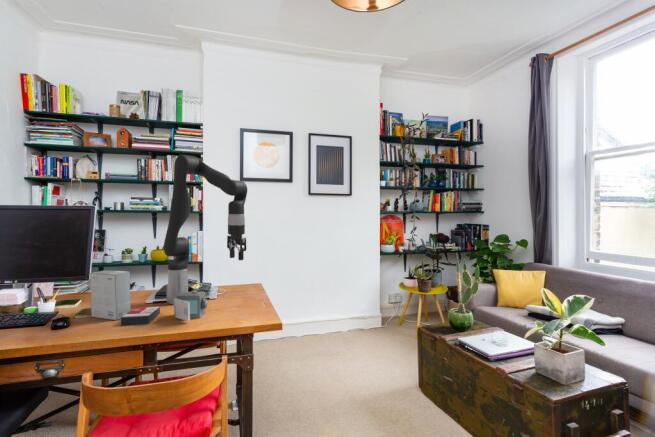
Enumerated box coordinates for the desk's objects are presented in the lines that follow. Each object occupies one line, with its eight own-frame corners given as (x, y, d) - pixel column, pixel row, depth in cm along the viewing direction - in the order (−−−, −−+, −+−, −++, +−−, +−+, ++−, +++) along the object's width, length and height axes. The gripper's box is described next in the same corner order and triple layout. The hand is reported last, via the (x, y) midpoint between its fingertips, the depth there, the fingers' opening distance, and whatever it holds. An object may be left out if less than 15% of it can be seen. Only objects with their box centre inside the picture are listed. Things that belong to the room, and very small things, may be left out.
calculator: (160, 305, 156) (148, 314, 141) (160, 315, 156) (148, 324, 141) (134, 307, 154) (120, 315, 139) (134, 316, 154) (120, 326, 139)
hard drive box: (131, 315, 152) (130, 271, 152) (116, 320, 145) (114, 274, 144) (106, 311, 158) (105, 269, 157) (90, 317, 150) (89, 272, 150)
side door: (174, 317, 146) (173, 299, 145) (177, 317, 147) (177, 298, 147) (186, 321, 141) (186, 302, 140) (190, 320, 142) (189, 302, 142)
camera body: (173, 319, 147) (173, 294, 146) (181, 313, 155) (181, 290, 155) (203, 319, 147) (202, 294, 147) (209, 313, 155) (208, 289, 155)
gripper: (221, 223, 158) (221, 257, 158) (236, 225, 147) (236, 261, 148) (236, 223, 163) (236, 256, 163) (251, 224, 152) (251, 260, 153)
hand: (236, 259), depth 156 cm, fingers open, 8 cm apart
